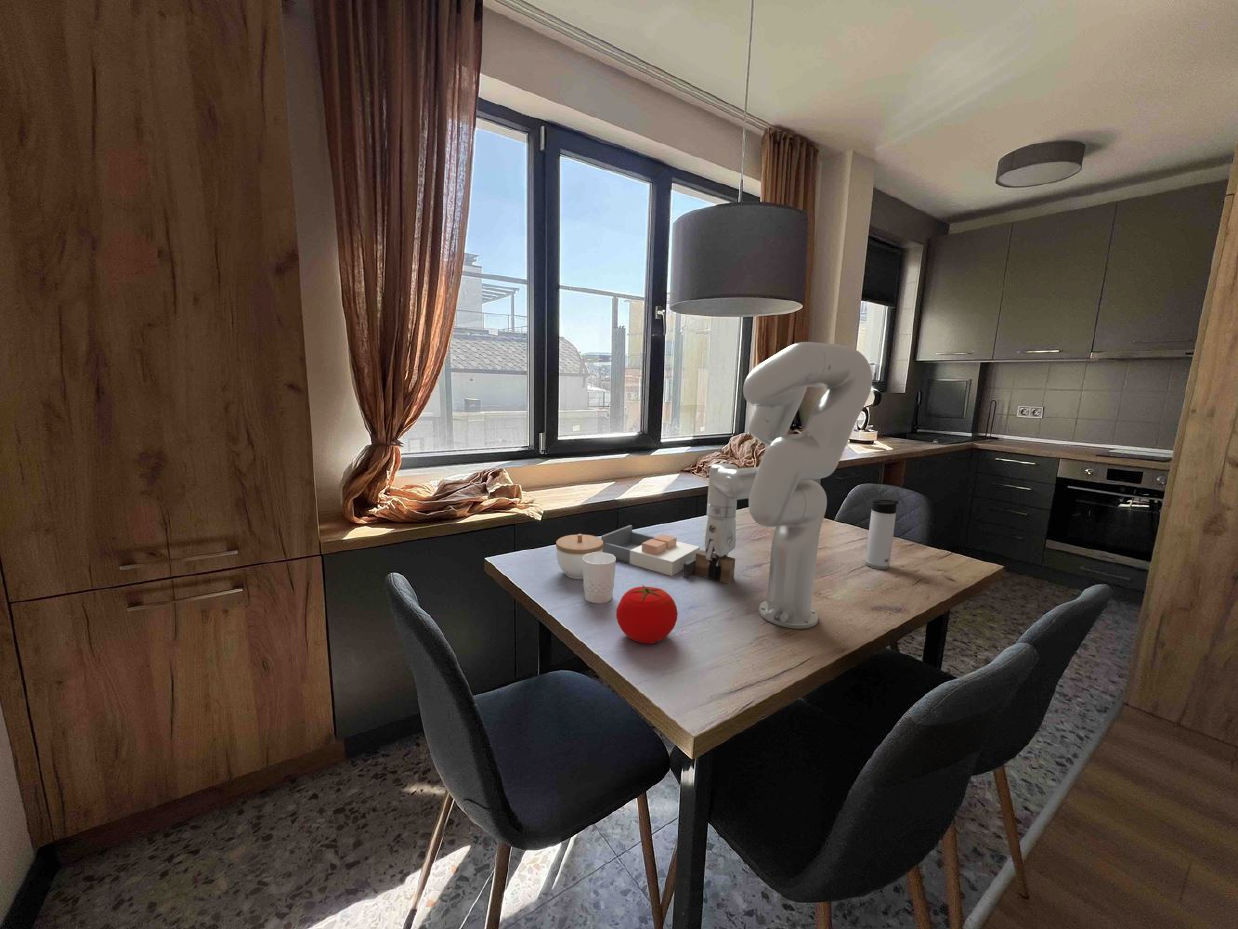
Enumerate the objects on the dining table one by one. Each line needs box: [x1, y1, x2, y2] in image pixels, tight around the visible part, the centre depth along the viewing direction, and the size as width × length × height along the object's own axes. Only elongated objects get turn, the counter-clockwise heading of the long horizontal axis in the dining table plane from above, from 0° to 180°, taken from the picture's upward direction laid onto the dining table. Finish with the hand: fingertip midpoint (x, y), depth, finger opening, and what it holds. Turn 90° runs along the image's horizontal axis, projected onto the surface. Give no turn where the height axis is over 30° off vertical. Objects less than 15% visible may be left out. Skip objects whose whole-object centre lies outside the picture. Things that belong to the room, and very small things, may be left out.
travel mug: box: [864, 499, 900, 570], centre depth 140 cm, size 6×7×20 cm
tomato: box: [615, 584, 679, 644], centre depth 98 cm, size 11×12×10 cm
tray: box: [600, 524, 656, 565], centre depth 147 cm, size 15×10×6 cm
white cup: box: [582, 552, 617, 604], centre depth 115 cm, size 8×8×10 cm
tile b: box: [653, 533, 678, 550], centre depth 142 cm, size 5×5×2 cm
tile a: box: [642, 539, 666, 555], centre depth 138 cm, size 5×5×2 cm
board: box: [629, 541, 701, 577], centre depth 140 cm, size 16×14×4 cm
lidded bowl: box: [555, 533, 603, 580], centre depth 129 cm, size 13×13×11 cm
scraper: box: [682, 549, 736, 584], centre depth 130 cm, size 12×11×6 cm
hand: (717, 576), depth 130 cm, fingers closed on scraper, 3 cm apart
